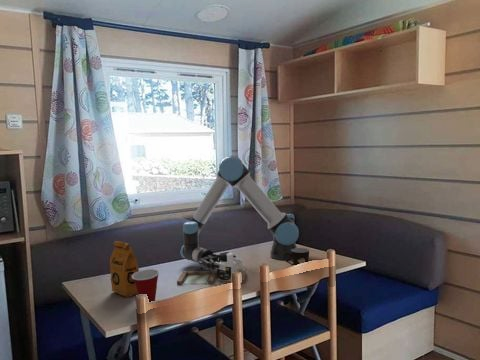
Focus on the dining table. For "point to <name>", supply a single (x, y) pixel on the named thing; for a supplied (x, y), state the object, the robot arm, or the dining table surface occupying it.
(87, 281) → the dining table surface
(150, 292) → the plastic cup
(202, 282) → the wooden tray frame
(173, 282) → the dining table surface
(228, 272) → the medicine bottle
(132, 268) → the coffee package
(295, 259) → the coffee mug
